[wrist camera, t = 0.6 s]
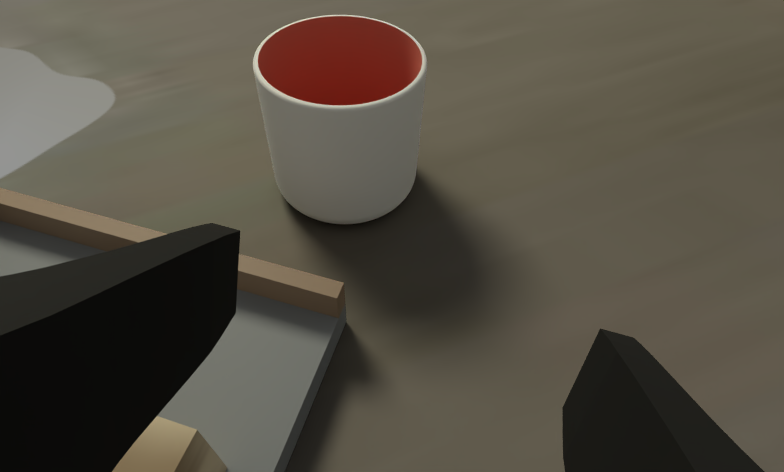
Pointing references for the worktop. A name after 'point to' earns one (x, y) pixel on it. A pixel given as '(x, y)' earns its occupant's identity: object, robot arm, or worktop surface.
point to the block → (170, 451)
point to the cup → (342, 114)
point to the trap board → (233, 350)
